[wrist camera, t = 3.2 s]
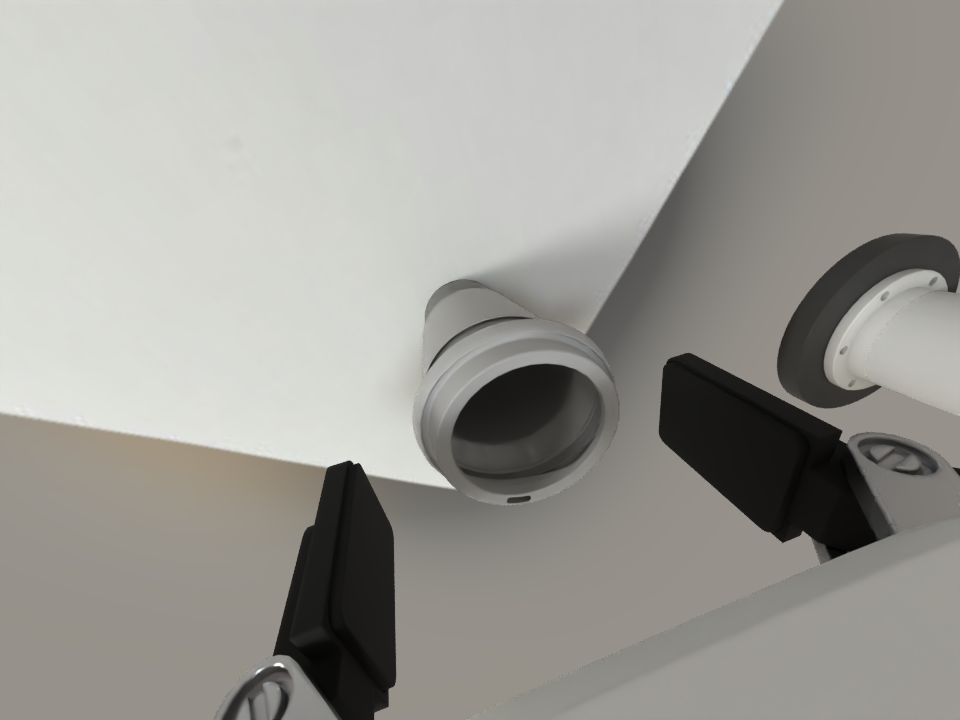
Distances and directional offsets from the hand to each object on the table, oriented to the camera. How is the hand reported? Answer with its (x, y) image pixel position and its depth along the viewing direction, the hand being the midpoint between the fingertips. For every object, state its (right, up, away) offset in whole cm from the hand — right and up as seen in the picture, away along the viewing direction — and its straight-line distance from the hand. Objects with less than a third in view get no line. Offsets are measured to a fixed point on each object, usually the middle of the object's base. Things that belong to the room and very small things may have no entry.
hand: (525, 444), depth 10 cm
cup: (-2, +5, +11) cm, 13 cm away
